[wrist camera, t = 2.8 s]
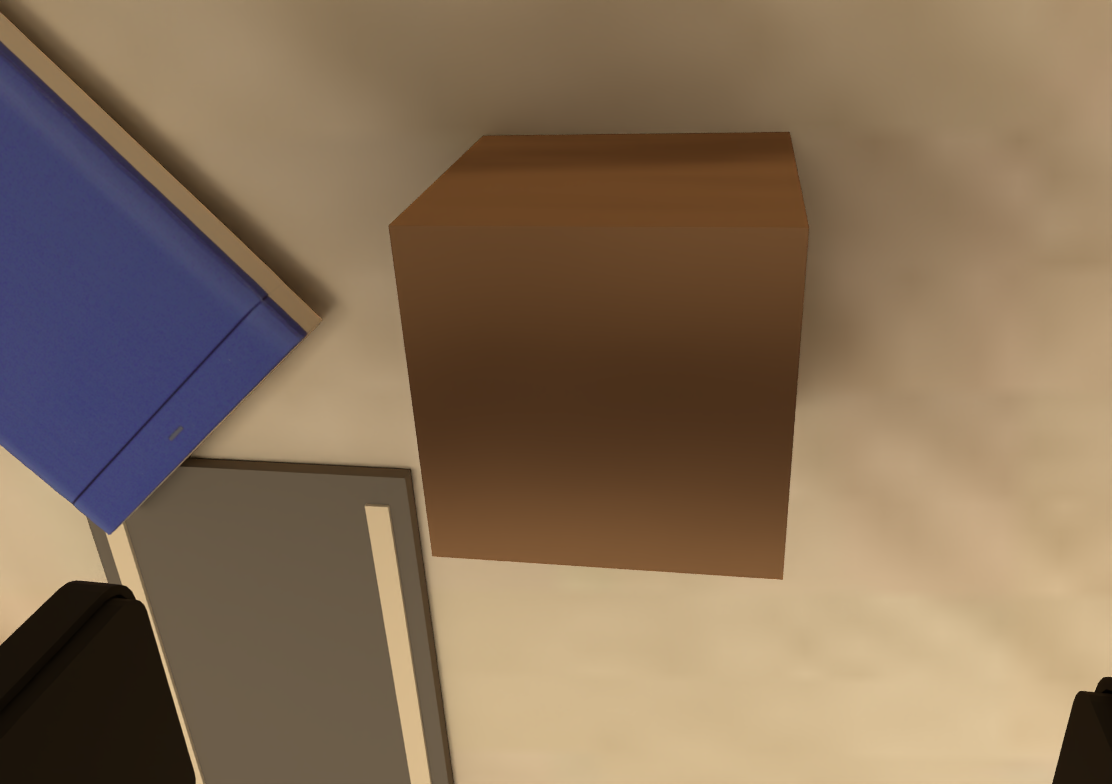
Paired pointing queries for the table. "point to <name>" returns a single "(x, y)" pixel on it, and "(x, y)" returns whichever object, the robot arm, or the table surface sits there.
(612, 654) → the table surface
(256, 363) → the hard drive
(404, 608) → the mat
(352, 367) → the table surface
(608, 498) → the cube
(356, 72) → the table surface
